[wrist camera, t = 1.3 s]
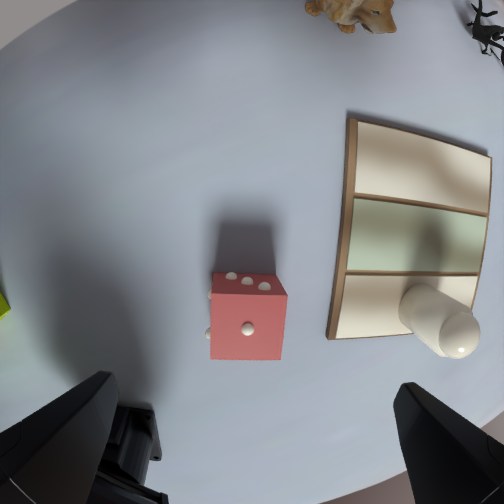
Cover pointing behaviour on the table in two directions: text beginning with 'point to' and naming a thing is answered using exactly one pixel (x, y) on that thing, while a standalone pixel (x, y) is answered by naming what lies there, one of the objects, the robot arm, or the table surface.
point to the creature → (487, 31)
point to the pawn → (439, 321)
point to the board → (405, 226)
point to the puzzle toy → (3, 307)
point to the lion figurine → (356, 14)
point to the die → (246, 316)
